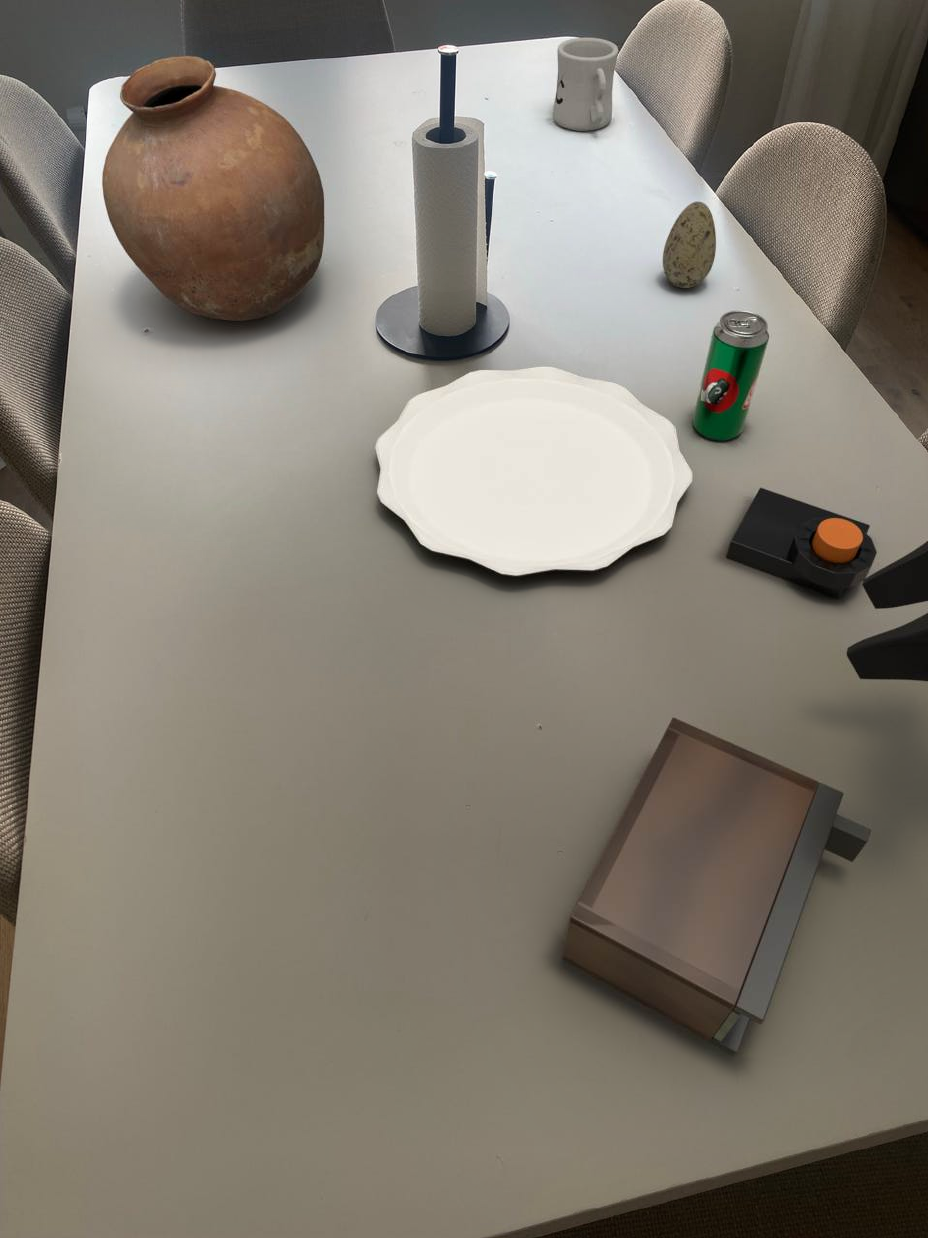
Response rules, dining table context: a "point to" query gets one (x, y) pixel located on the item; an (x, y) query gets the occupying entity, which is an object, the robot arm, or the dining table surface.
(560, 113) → the mug
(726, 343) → the soda can
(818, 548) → the button
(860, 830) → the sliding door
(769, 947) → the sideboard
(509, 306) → the dining table surface
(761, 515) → the control box
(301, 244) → the pottery
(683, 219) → the decorative egg
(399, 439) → the plate
